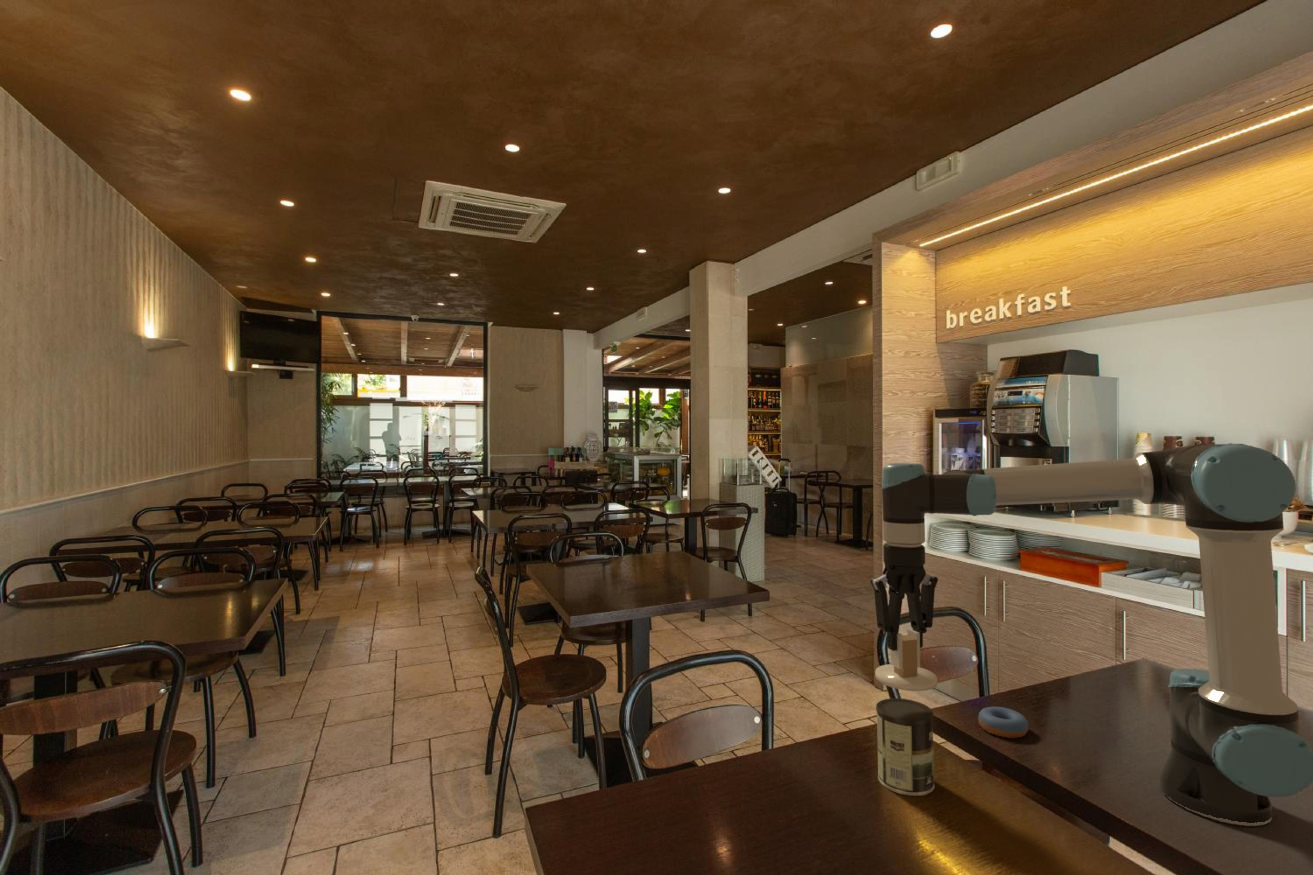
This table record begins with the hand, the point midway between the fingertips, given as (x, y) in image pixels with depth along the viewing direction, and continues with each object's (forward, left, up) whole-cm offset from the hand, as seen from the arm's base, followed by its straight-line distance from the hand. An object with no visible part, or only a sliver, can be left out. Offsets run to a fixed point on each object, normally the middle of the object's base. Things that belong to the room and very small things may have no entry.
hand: (905, 665), depth 120 cm
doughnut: (-21, -30, -23) cm, 44 cm away
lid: (0, 0, -3) cm, 3 cm away
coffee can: (0, -1, -23) cm, 23 cm away
